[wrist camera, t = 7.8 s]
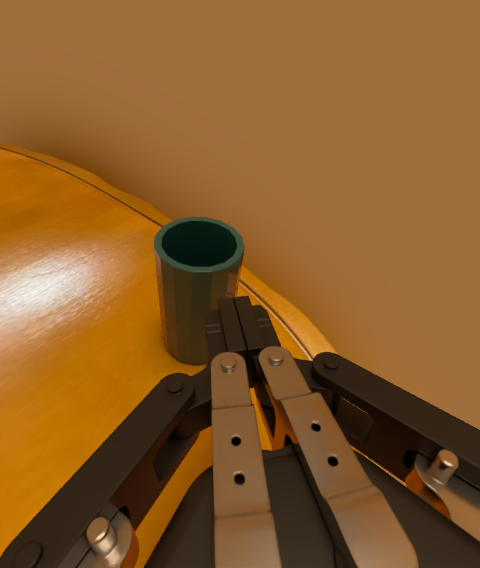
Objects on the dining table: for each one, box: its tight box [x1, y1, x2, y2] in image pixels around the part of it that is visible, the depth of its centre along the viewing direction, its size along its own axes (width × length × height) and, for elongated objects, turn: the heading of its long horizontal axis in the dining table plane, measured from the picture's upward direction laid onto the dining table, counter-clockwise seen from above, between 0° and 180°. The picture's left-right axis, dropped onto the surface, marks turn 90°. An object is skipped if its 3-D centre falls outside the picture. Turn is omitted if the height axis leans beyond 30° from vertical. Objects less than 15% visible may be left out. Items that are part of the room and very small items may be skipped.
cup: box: [154, 217, 244, 365], centre depth 25 cm, size 6×6×11 cm
